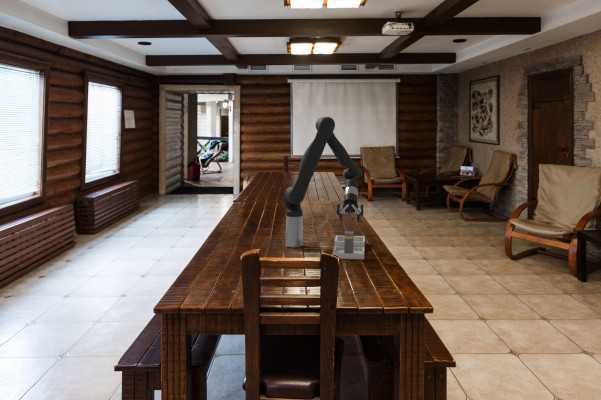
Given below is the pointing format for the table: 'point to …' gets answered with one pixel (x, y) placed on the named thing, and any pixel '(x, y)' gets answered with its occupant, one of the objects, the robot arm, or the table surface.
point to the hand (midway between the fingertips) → (349, 221)
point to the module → (348, 242)
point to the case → (357, 242)
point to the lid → (357, 253)
